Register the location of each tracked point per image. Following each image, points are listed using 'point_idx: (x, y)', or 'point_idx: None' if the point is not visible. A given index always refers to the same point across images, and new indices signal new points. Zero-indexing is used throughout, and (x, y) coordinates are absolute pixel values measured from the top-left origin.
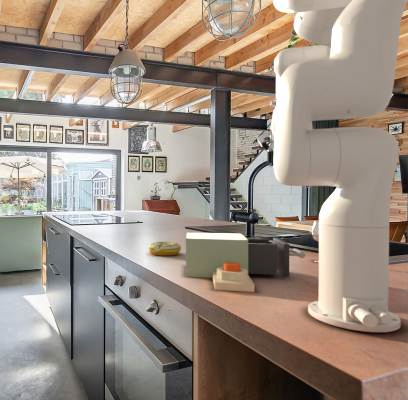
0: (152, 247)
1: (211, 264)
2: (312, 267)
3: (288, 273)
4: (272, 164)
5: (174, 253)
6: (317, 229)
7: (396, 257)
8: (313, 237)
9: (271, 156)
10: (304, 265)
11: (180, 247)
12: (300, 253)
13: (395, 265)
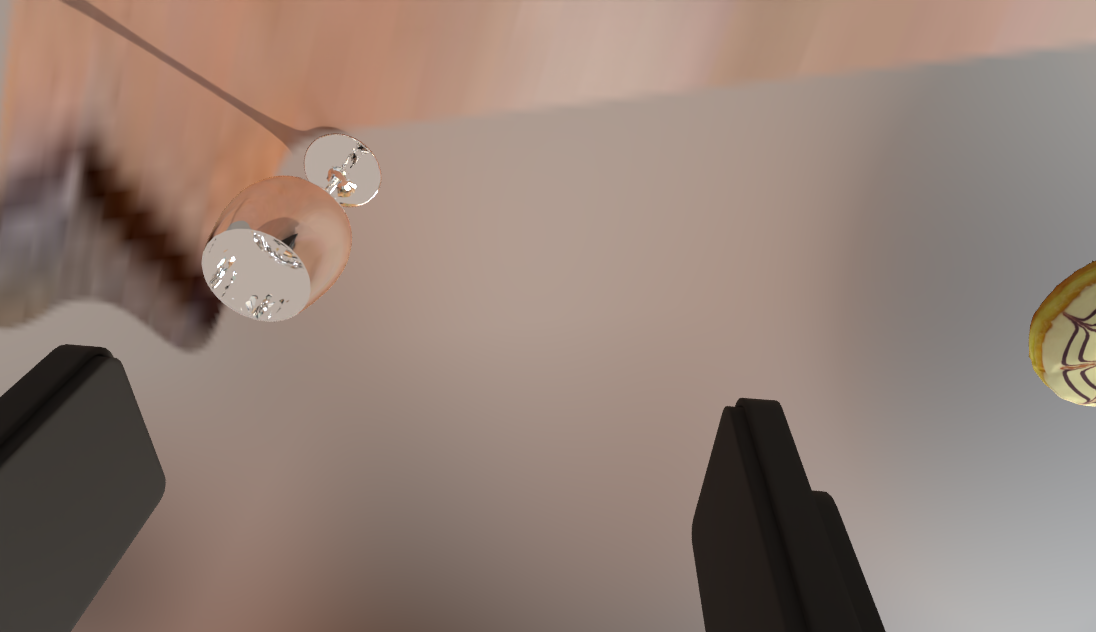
0: None
1: None
2: (430, 22)
3: None
4: (767, 404)
5: (1091, 264)
6: (317, 221)
7: (3, 313)
8: (350, 229)
9: (817, 564)
10: (457, 73)
11: (1048, 320)
12: None
13: (28, 127)
